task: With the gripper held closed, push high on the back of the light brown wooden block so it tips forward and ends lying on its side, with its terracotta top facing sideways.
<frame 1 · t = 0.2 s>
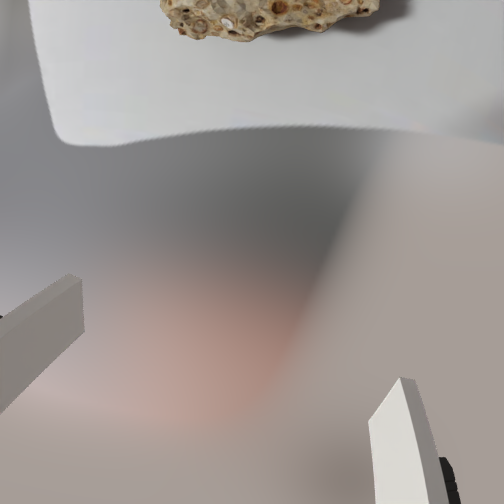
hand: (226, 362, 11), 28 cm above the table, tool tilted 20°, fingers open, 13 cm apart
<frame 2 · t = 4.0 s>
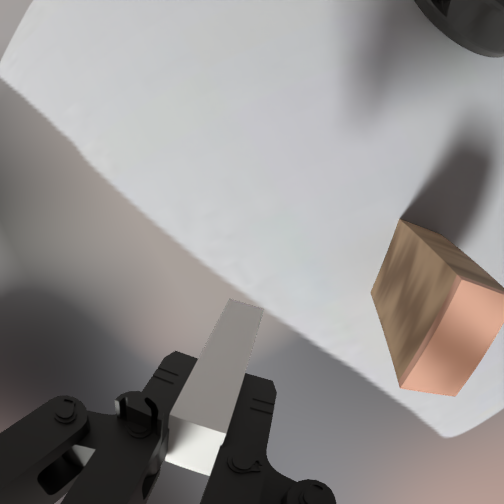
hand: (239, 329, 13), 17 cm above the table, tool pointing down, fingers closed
light brown wooden block: (406, 264, 28), on the table
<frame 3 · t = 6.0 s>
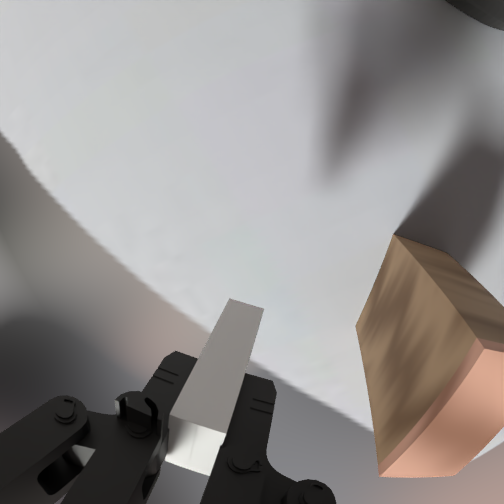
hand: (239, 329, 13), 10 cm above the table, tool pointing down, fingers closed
light brown wooden block: (402, 291, 22), on the table
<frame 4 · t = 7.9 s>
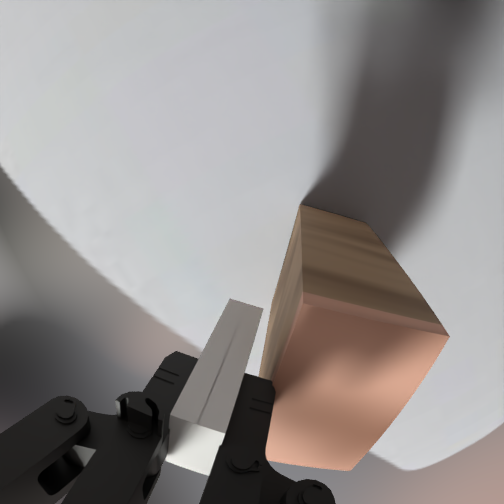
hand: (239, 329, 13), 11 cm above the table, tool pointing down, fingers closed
light brown wooden block: (318, 264, 23), on the table, touching gripper
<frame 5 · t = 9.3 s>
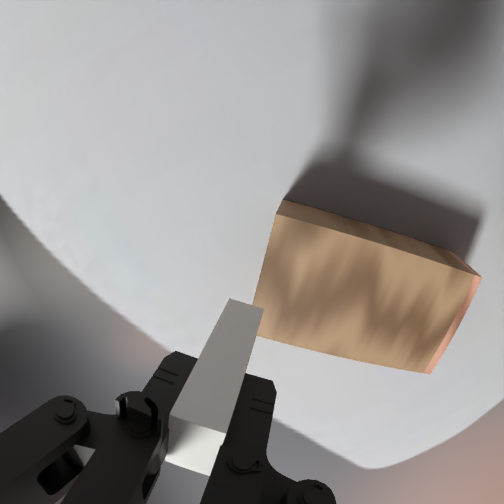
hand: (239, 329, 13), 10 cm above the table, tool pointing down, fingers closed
light brown wooden block: (264, 263, 21), point 2 cm above the table, tilted 90°
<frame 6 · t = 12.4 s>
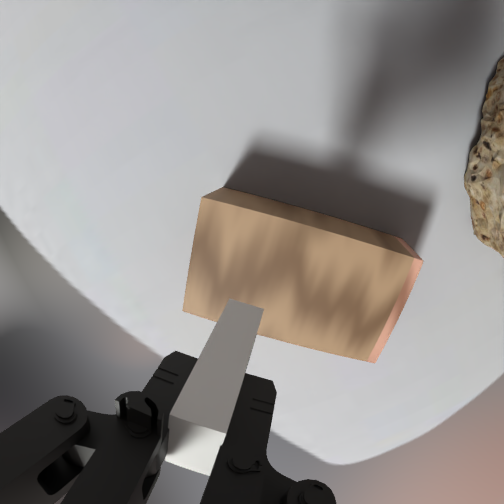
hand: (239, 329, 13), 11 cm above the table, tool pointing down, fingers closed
light brown wooden block: (202, 246, 22), point 2 cm above the table, tilted 90°
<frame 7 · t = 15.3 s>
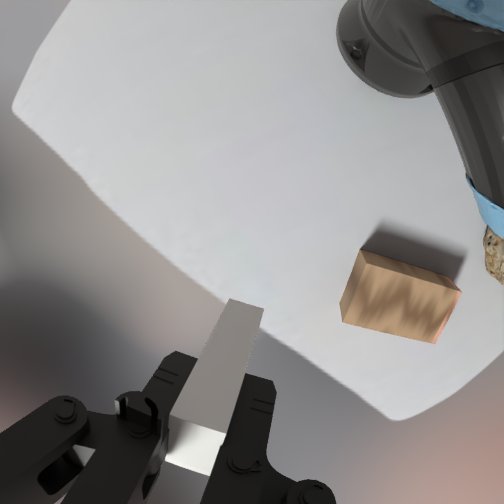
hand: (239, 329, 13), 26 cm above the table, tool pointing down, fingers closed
light brown wooden block: (351, 285, 37), point 2 cm above the table, tilted 90°
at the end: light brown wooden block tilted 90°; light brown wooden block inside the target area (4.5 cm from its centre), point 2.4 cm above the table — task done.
